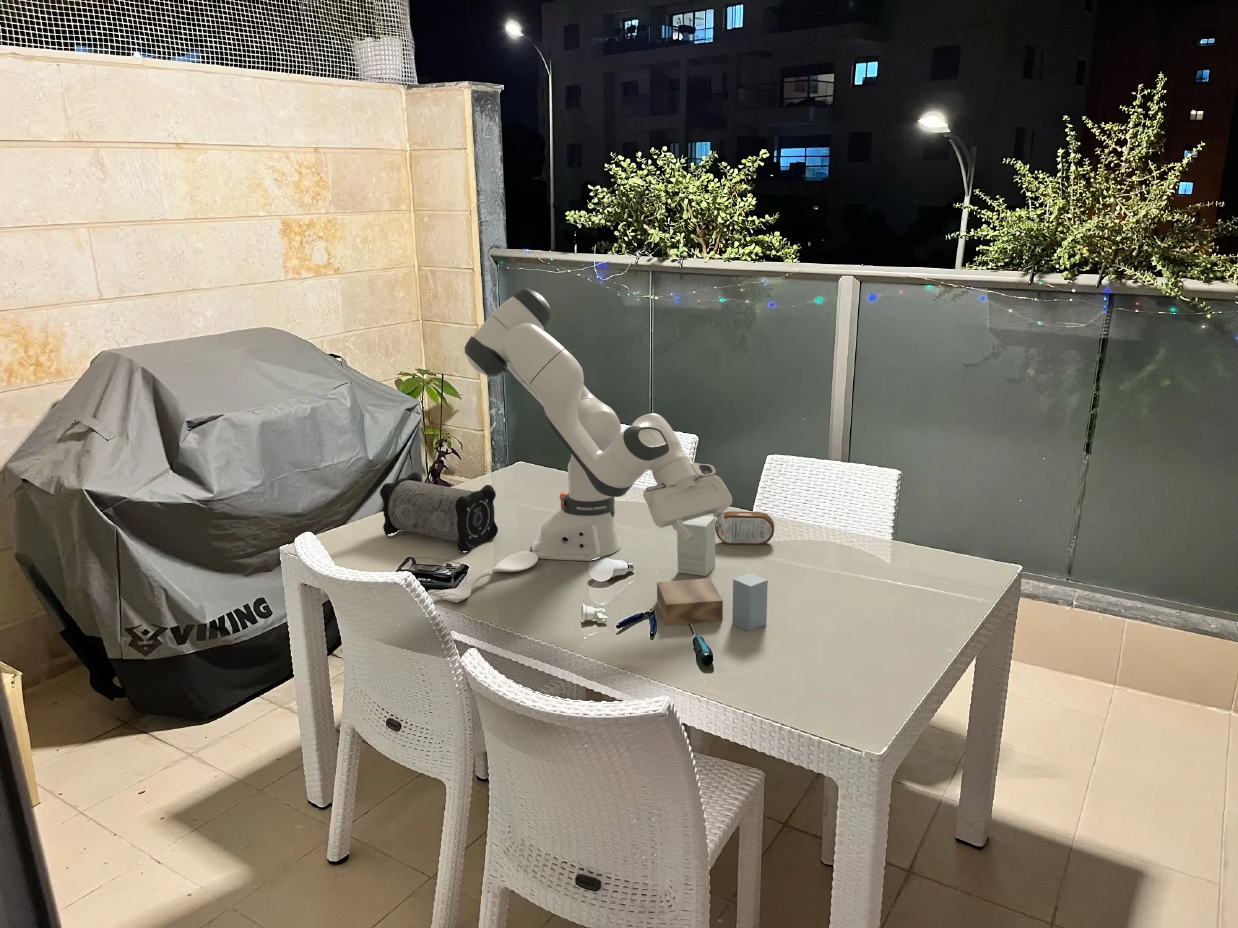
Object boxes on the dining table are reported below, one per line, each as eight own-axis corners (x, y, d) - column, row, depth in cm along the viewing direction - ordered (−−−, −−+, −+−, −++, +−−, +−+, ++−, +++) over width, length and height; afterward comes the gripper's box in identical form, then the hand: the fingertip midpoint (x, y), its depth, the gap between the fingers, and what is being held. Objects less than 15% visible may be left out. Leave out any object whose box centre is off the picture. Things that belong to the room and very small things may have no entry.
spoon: (426, 604, 213) (425, 589, 212) (517, 557, 239) (516, 544, 238) (456, 612, 208) (455, 598, 207) (545, 564, 234) (545, 551, 233)
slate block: (732, 622, 200) (733, 578, 198) (749, 616, 203) (750, 572, 200) (749, 631, 197) (750, 586, 194) (766, 624, 199) (767, 580, 197)
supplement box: (716, 565, 230) (716, 516, 227) (705, 577, 224) (706, 526, 220) (687, 561, 233) (687, 512, 230) (676, 572, 227) (676, 522, 223)
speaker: (465, 556, 240) (461, 500, 235) (380, 538, 253) (375, 484, 249) (501, 537, 252) (498, 483, 248) (418, 521, 266) (414, 469, 262)
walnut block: (666, 626, 200) (666, 604, 199) (657, 602, 211) (656, 582, 210) (722, 622, 201) (722, 600, 200) (710, 598, 213) (710, 578, 211)
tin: (773, 542, 245) (774, 511, 243) (774, 546, 242) (775, 515, 240) (714, 541, 246) (715, 510, 244) (714, 545, 243) (715, 514, 241)
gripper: (646, 481, 201) (676, 537, 196) (718, 464, 212) (748, 517, 207) (634, 496, 205) (662, 551, 201) (705, 478, 217) (734, 530, 212)
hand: (706, 534), depth 204 cm, fingers open, 8 cm apart
